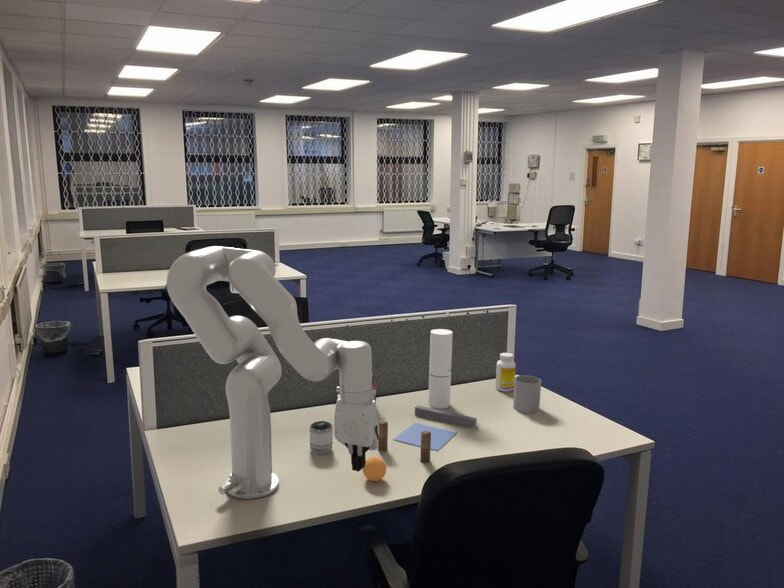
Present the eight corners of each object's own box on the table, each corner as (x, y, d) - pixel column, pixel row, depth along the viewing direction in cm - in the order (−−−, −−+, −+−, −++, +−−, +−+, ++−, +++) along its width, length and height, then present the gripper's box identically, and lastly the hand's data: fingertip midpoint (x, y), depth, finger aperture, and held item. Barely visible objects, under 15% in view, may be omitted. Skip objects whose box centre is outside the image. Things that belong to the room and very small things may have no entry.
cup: (511, 411, 205) (513, 382, 203) (514, 402, 213) (516, 374, 211) (538, 414, 203) (540, 385, 201) (540, 405, 210) (542, 377, 208)
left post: (384, 452, 174) (385, 425, 172) (376, 450, 175) (376, 423, 173) (389, 448, 176) (389, 422, 175) (380, 446, 177) (381, 420, 176)
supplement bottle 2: (518, 390, 224) (520, 355, 222) (503, 393, 221) (505, 358, 218) (505, 384, 230) (507, 350, 227) (491, 387, 227) (493, 353, 224)
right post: (427, 463, 168) (428, 435, 166) (418, 461, 169) (419, 433, 167) (431, 459, 170) (432, 432, 168) (422, 457, 171) (423, 430, 170)
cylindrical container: (453, 403, 211) (456, 331, 206) (443, 410, 205) (446, 335, 200) (434, 399, 214) (437, 327, 209) (424, 405, 208) (426, 332, 203)
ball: (378, 488, 155) (379, 465, 154) (357, 481, 158) (358, 459, 156) (390, 477, 160) (390, 455, 159) (370, 472, 163) (370, 450, 162)
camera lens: (305, 449, 175) (305, 422, 173) (324, 443, 179) (324, 417, 177) (318, 457, 170) (317, 430, 169) (337, 451, 174) (337, 424, 173)
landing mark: (437, 451, 175) (437, 450, 175) (393, 440, 182) (393, 439, 182) (457, 433, 187) (457, 432, 187) (414, 423, 194) (414, 422, 194)
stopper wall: (473, 428, 191) (474, 420, 191) (414, 414, 201) (415, 407, 200) (476, 425, 193) (476, 418, 192) (417, 412, 202) (417, 405, 202)
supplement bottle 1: (354, 410, 204) (354, 376, 201) (361, 403, 209) (361, 371, 207) (372, 412, 202) (372, 379, 199) (378, 406, 207) (378, 373, 205)
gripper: (320, 395, 146) (323, 468, 149) (376, 405, 139) (378, 482, 142) (338, 385, 152) (340, 456, 156) (392, 394, 145) (394, 468, 149)
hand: (358, 468), depth 149 cm, fingers closed
